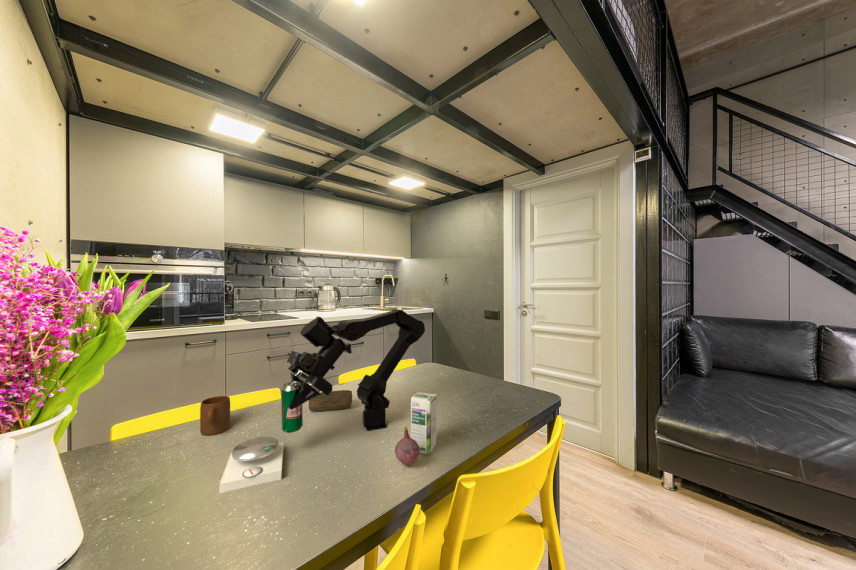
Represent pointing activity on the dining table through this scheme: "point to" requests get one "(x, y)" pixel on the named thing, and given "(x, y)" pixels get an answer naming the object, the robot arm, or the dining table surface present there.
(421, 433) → the syrup box
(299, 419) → the soda can
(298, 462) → the dining table surface
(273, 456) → the kitchen scale
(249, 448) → the scale pan
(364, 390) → the robot arm
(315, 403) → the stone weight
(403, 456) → the vegetable
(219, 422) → the mug
